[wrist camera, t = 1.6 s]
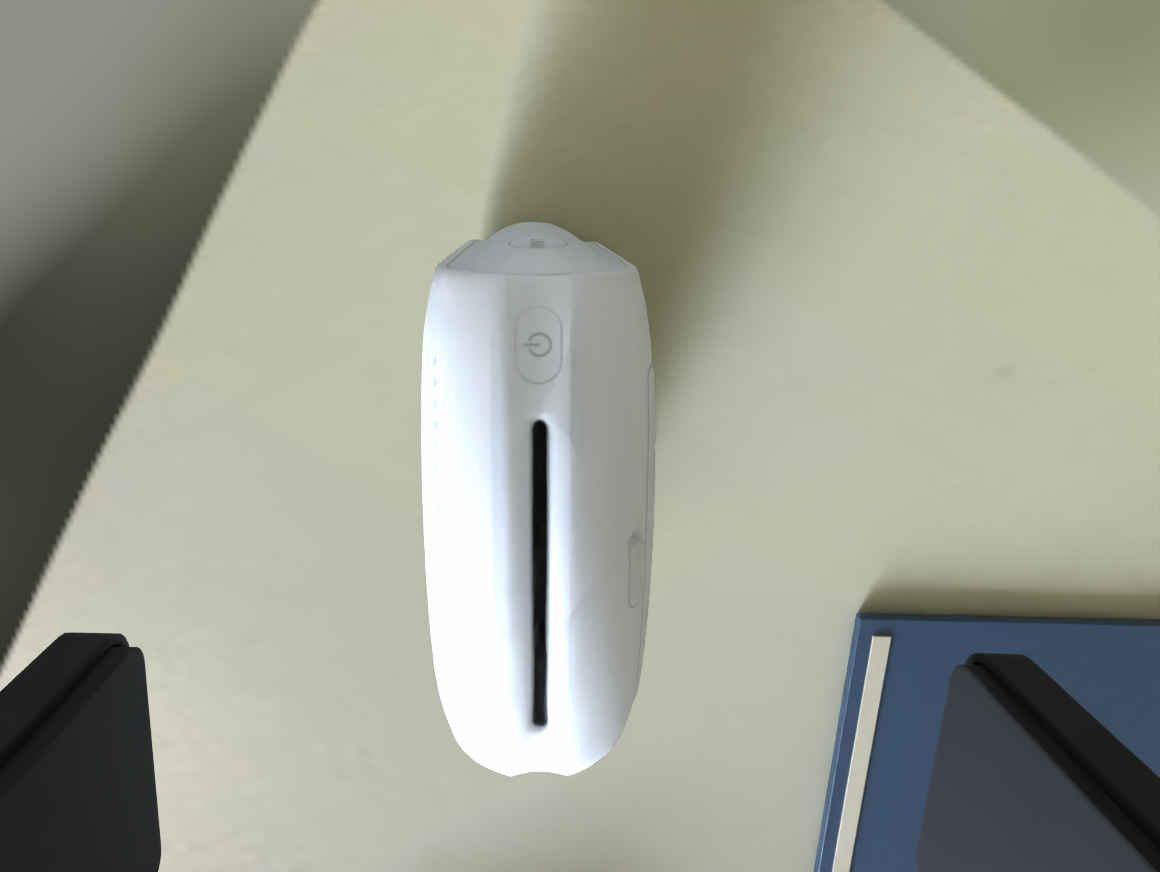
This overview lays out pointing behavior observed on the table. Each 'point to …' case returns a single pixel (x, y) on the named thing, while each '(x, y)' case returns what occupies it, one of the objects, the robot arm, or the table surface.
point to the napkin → (916, 705)
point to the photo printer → (537, 495)
